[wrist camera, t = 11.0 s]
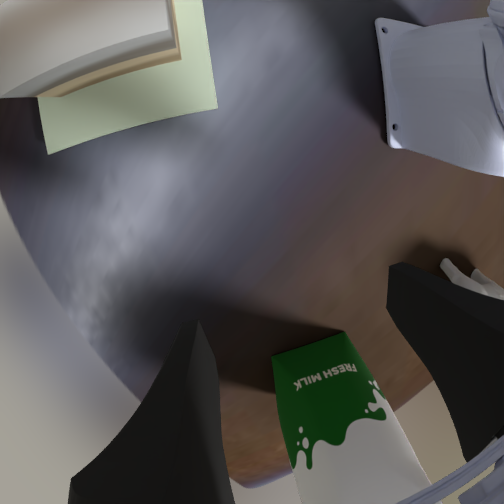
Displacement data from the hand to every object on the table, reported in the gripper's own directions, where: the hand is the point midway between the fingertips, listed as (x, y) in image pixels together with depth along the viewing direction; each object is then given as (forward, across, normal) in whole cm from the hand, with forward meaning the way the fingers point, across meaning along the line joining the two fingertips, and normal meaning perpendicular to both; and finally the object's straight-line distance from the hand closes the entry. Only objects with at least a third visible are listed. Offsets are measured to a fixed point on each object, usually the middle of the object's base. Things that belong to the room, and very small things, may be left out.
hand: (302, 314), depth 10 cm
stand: (+10, +5, -14) cm, 18 cm away
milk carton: (+10, -2, +16) cm, 19 cm away
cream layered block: (+8, +5, -13) cm, 16 cm away
